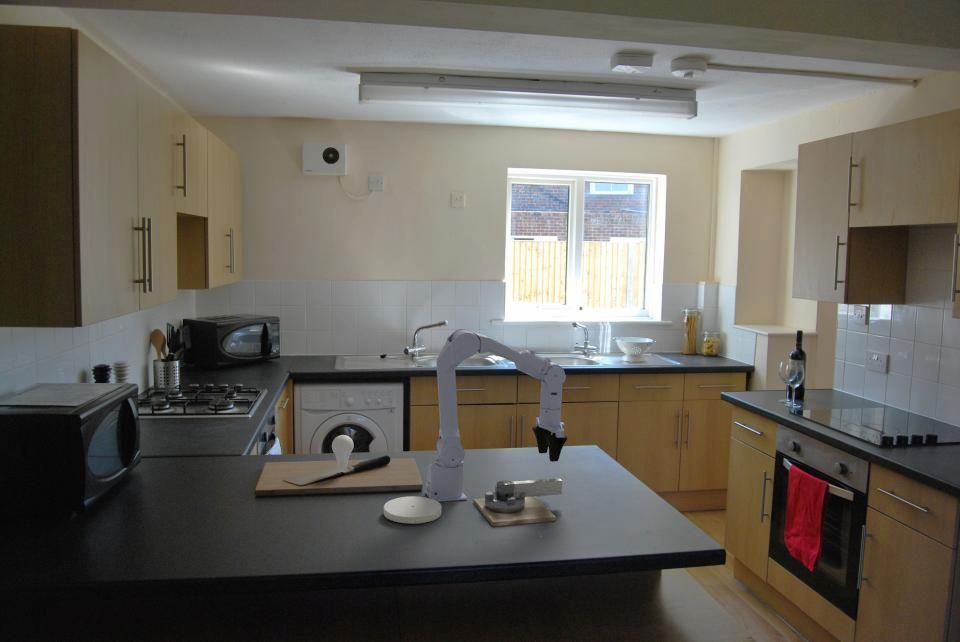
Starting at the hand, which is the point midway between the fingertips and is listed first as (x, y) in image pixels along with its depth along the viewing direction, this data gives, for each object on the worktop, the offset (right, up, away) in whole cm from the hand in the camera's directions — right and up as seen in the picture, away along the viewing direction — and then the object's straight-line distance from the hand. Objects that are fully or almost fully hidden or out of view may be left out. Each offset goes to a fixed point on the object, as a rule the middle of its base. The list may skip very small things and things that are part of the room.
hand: (548, 457), depth 189 cm
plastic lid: (-35, -11, -18) cm, 41 cm away
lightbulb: (-58, -7, +12) cm, 60 cm away
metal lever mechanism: (-7, -10, -12) cm, 17 cm away
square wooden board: (-10, -11, -13) cm, 20 cm away
